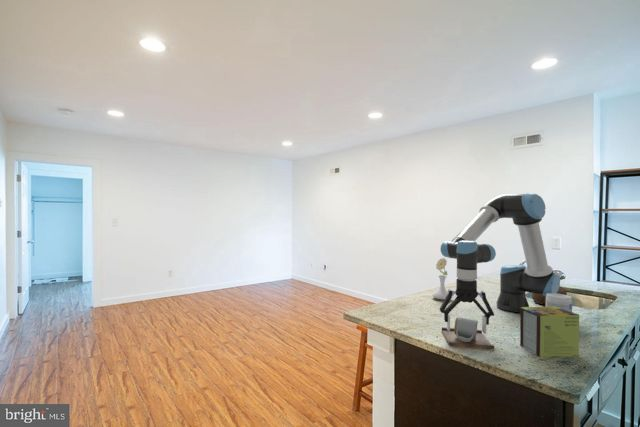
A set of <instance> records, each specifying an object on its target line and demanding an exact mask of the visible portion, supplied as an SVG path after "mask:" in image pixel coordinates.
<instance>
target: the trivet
mask: <svg viewBox="0 0 640 427" xmlns="http://www.w3.org/2000/svg"><path fill="white" fill-rule="evenodd" d="M441 333H442V334H443V336H444V338H445V341H446V343H447V344H448V346H449V347H456V348H457V347H459V348H467V349H468V348H469V349H478V348H481V349H480V350H490V349H494V350H495V345H494V344H491V342H490V340H488V339H487V337H486V336H485V334H484V333H483V332H482V329H477V335H476V341H474V340H471V341H470V342H463V341H460V340H459V339H458V338H457V336H456V335H455V333H454V327H450V331H448V330H447V326H446V327H445V326H443V327H441ZM461 338H464V337H461ZM465 339H467V338H465Z"/></svg>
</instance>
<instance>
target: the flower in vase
mask: <svg viewBox="0 0 640 427" xmlns="http://www.w3.org/2000/svg"><path fill="white" fill-rule="evenodd" d="M447 261H448V260H447V259H446V258H445V257H443V258H442V257H441V258H439V260H437V262H436V266H435V268H436V270H438V271H439V272H440V273H441V274H438V275H437V277H438V278H439V282H440V284H439V285H440V286H439V288H438V289H436V290H435V291H433V293H432V297H433V298H435V299H438V300H443V301H444V300H445V298H446V296H447V295H448V290H447V289H446V286H445V281H446V278H447V277H448V271H447V270H446V269H445V267H446V266H447V263H448V262H447ZM451 299H453V296H452V297H451Z"/></svg>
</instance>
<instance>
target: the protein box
mask: <svg viewBox="0 0 640 427" xmlns="http://www.w3.org/2000/svg"><path fill="white" fill-rule="evenodd" d="M519 313H520V318H519V319H520V322H519V323H520V326H519V328H520V330H519V332H520V334H519V341H520V342H519V344H520V346H521V347H523V349H525V348H526V349H525V350H527V351H529V352H530V351H531V352H530V353H532V354H533V355H535V354H536V356H537V357H539V358H552V357H551V356H561V357H575V356H574V355H579V356H580V314H578V313H575V312H573V311H572V312H570V311H567V310H565V309H562V308H559V307H557V306H551V307H546V306H529V307H521V308H520V312H519ZM572 355H573V356H572Z"/></svg>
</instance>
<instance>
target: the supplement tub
mask: <svg viewBox="0 0 640 427" xmlns="http://www.w3.org/2000/svg"><path fill="white" fill-rule="evenodd" d="M572 298H573V297H572V296H570V295H568V294H567V295H564V294H557V293H547V294H546V305H545V307H551V306H557V307H559V308H562V309H565V310H567V311H570V312H573V300H572Z"/></svg>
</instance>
